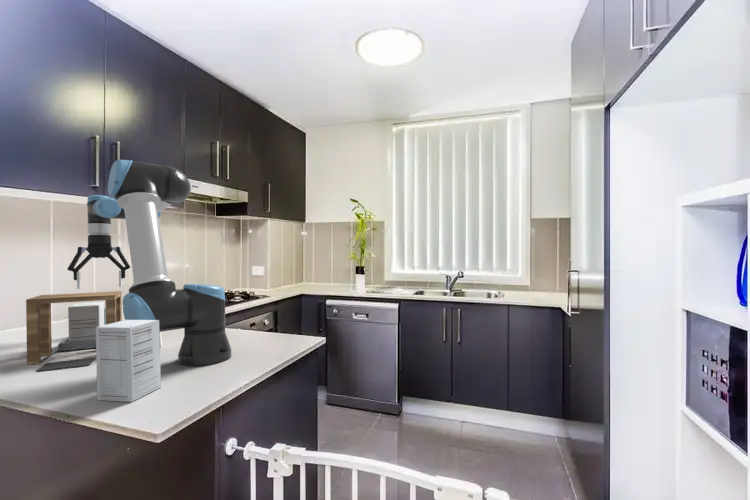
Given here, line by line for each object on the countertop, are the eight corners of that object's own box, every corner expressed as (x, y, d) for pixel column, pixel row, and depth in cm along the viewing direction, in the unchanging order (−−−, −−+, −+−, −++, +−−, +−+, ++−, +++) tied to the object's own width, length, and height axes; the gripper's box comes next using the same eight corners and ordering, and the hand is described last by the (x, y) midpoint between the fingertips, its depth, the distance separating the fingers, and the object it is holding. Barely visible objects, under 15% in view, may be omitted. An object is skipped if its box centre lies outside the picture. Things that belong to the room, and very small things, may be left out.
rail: (104, 356, 120) (104, 355, 120) (38, 364, 113) (38, 362, 113) (119, 338, 145) (119, 337, 145) (66, 343, 138) (66, 341, 138)
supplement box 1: (75, 344, 136) (74, 303, 136) (105, 341, 140) (104, 301, 140) (67, 350, 128) (67, 306, 128) (99, 347, 132) (99, 304, 132)
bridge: (115, 355, 122) (114, 295, 122) (26, 365, 112) (26, 299, 112) (121, 346, 133) (121, 291, 133) (41, 354, 124) (41, 295, 123)
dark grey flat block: (89, 365, 111) (89, 364, 111) (36, 372, 106) (36, 370, 106) (95, 358, 118) (95, 357, 118) (46, 364, 113) (46, 362, 113)
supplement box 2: (162, 387, 93) (161, 319, 93) (132, 402, 84) (131, 327, 84) (128, 385, 95) (127, 318, 95) (95, 400, 86) (94, 326, 85)
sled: (108, 346, 132) (108, 317, 132) (58, 351, 126) (58, 321, 126) (121, 331, 156) (121, 307, 156) (79, 335, 150) (79, 310, 150)
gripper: (137, 235, 160) (138, 285, 160) (63, 234, 149) (63, 288, 149) (135, 234, 153) (135, 286, 153) (57, 234, 142) (57, 290, 142)
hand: (100, 287), depth 151 cm, fingers open, 13 cm apart
